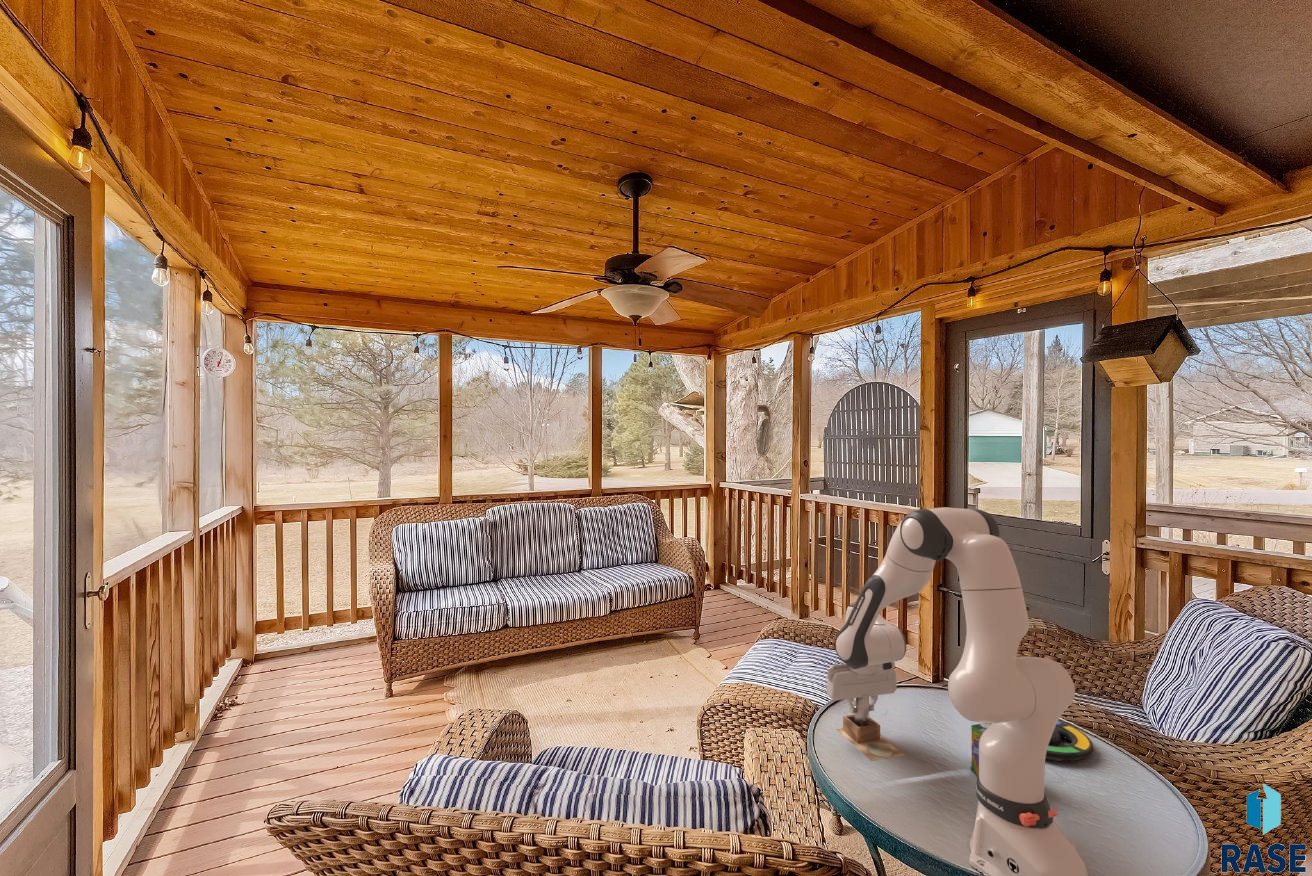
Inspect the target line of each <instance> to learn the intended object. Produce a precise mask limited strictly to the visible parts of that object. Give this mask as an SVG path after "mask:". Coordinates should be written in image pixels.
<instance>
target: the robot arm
mask: <svg viewBox="0 0 1312 876" xmlns="http://www.w3.org/2000/svg"><path fill="white" fill-rule="evenodd" d="M945 559H947V560H949V561H950V562H952V564H953V565H954V566H955V568H956V569H957V573H958V574H957V575H958V580H959V586H960V592H961V598H962V603H963V610H964V615H965V616H964V617H965V625H966V633H965V634H966V636H965V643H964V649H963V653H962V655H961V657H960V658H961V659H960V660H959V663H958V664H957V666H956V667H955V668H954V669H953V671H952V672H951V674H949V677H948V682H947V692H948V696H949V699H950V701H951V703H952V706H953V707H954V709H955V710H956V712H958V713H959V715H961V717H962V718H965V719H966V720H968V721H970V722H973V723H974V722H975V723H980V724H983V723H992V724H991V725H990V726H989V727H988V728H987V729H986V730H985V731H984V733H983V734H982V736H981V738H980V741H979V774H978V775H977V774H976V775H977V776H976V780H975V781H976V783H975V792H976V793H975V794H976V799H977V807H976V813H975V819H974V821H975V822H974V827H973V831H972V834H971V837H970V839H969V849H970V854H969V859H968V863H969V866H971V867H972V868H974V869H975V870H976V869H977V870H976V871H977V872H979V873H980V872H982V873H983V874H986V875H987V876H1089V873H1088V869H1087V866H1086V864H1085V862H1084V861H1083V859H1082V857H1081V856H1080V855H1079V854H1078V849H1077V847H1076V845H1075V844H1074V843H1073V842H1071V841H1069V840H1068V839H1067V837H1066V836H1065V835H1064V833H1063V832H1062V830H1061V829H1060V828H1059V827H1058V825H1057V824H1056V822H1055V821H1054V818H1055V817H1058V816H1059V814H1057V813H1058V812H1059V810H1058V809H1057V808H1056V809H1051V807H1050V803H1049V800H1048V796H1047V795H1046V792H1045V776H1046V775H1045V774H1046V773H1045V770H1046V759H1045V758H1046V752H1047V748H1048V745H1049V742H1050V739H1051V736H1052V734H1053V731H1054V728H1055V726H1056V724H1057V722H1058V720H1059V721H1060V718H1061V716H1062V715H1063V714H1064V712H1065V711H1066V710H1067V709H1068V708H1069V707H1070V706H1071V704H1072V703H1073V702H1074V700H1075V696H1076V689H1075V685H1074V681H1073V679H1072V677H1071V676H1070V673H1069V672H1068V671H1067V669H1065V668H1064V666H1062V665H1061V664H1060V663H1059V662H1058V661H1055V660H1053V659H1050V658H1044V657H1040V656H1039V657H1038V656H1030V655H1028V656H1025V655H1024V656H1020V657H1019V656H1018V657H1017V654H1018V649H1019V645H1020V643H1021V640H1022V639H1023V638H1024V637H1025V636H1026V635H1027V633H1028V631H1029V629H1030V619H1029V615H1028V609H1027V605H1026V601H1025V596H1024V591H1023V587H1022V583H1021V578H1020V575H1019V571H1018V568H1017V565H1016V563H1015V560H1014V557H1013V554H1012V552H1011V550H1010V548H1009V546H1008V544H1007V542H1005V540H1003V538H1001V537H1000V528H999V525H998V522H997V521H996V519H995V518H994V516H993V515H992V514H990V513H989V512H987V511H984V510H982V509H979V508H973V507H968V508H962V507H961V508H959V507H945V506H944V507H943V506H941V507H934V508H927V509H926V508H921V509H916V510H913V511H910V512H908V513H906V515H905V516H904V517H903V518H902V520H900V522H899V523H898V525H897V527H896V528H895V531H894V532H893V534H892V537H891V538H890V541H889V543H888V547H887V549H886V552H885V555H884V557H883V559H882V562H881V563H880V565H879V566H878V568H877V569H876V571H874V573H873V574H872V575H871V576H870V577H869V578H868V579H867V580H866V582H865V584H864V585H863V586H862V589H861V590H860V593H859V594H858V597H857V600H856V601H855V602H854V603H852V604H850V605H848V606H847V608H846V612H845V618H844V619H845V620H844V625H843V626H842V627H841V628H840V630H839V631H838V633H837V634H836V639H835V643H834V644H835V645H834V647H835V652H836V656H838V658H839V659H840V661H842V662H843V663H838V664H837V663H836V664H832V665H831V666H830V667H829V668H828V669H827V681H826V691H825V692H826V694H827V696H828V697H829V698H830V699H832V700H833V701H841V700H842V701H843V700H845V702H846V703H847V705H848V712H849V713H850V715H854V713H857V707H856V706H855V705H854V698H860V697H862V696H863V695H868V696H869V712H873V711H875V704H876V703H877V701H878V699H879V696H882V695H889V694H894V693H895V692H896V691H897V687H898V686H897V685H898V684H897V683H898V682H897V674H896V670H894V669H895V668H896V667H895V666H896V662H898V661H901V660H902V659H903V658H904V657H905V655H906V653H907V640H906V637H905V634H904V633H903V631H902V630H901V629H900V628H899V627H898V626H897V625H894V624H892V623H890V621H888V620H887V619H886V618H884V617H883V616H882V615H881V614H880V613H881V612H883V610H884V609H885V608H887V607H888V606H889V605H892V604H893V603H895V602H898V601H900V600H903V599H905V598H909V597H910V596H915V595H917V594H918V593H920V592H921V591H923V590H924V588H925V587H926V586H927V584H928V583H929V581H930V579H931V577H932V574H933V572H934V571H933V570H934V569H935V565H936V562H943V561H944V560H945ZM982 873H981V874H982ZM983 874H982V875H983Z"/></svg>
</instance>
